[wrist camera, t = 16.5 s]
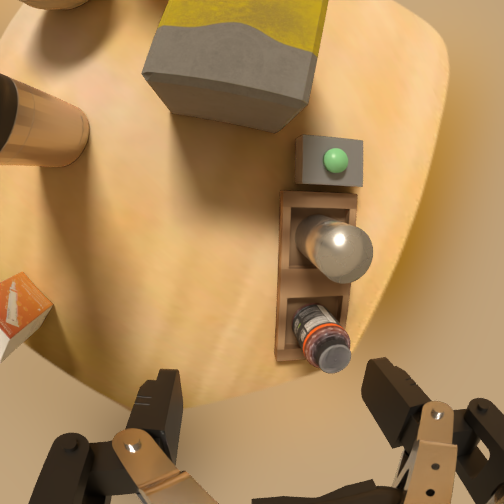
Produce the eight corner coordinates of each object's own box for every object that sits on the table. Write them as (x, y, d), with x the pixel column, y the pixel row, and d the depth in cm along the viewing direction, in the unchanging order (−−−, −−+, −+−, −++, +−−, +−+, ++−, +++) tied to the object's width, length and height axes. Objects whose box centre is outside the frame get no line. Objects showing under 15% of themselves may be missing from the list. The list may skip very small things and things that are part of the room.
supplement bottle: (331, 332, 44) (359, 373, 33) (293, 342, 44) (312, 386, 33) (327, 297, 43) (358, 332, 32) (287, 306, 42) (308, 345, 31)
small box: (54, 303, 40) (10, 340, 28) (40, 327, 41) (0, 365, 28) (22, 269, 39) (-27, 295, 26) (10, 294, 39) (-35, 324, 27)
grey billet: (294, 258, 41) (317, 284, 30) (295, 214, 40) (320, 225, 29) (335, 257, 42) (370, 282, 31) (338, 214, 40) (375, 226, 30)
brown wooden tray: (336, 348, 46) (340, 355, 43) (274, 352, 45) (276, 361, 43) (350, 193, 41) (357, 194, 38) (280, 190, 40) (283, 190, 37)
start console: (295, 183, 40) (304, 183, 35) (295, 139, 38) (304, 133, 34) (350, 186, 40) (365, 187, 35) (351, 144, 39) (366, 139, 34)
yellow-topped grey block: (309, -2, 33) (339, -58, 19) (279, 135, 38) (308, 109, 24) (213, -21, 31) (211, -83, 17) (167, 113, 36) (137, 78, 22)
